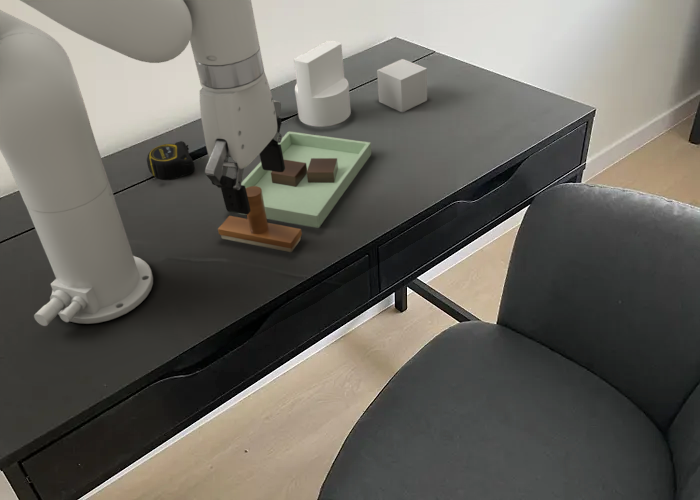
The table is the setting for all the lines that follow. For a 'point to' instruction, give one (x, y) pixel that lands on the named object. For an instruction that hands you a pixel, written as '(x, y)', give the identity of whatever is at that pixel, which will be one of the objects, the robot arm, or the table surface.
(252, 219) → the brush
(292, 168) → the dark brown square block
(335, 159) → the chip
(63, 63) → the robot arm
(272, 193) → the tray
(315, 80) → the base with upright slab
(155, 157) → the tape measure
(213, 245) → the table surface
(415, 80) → the light grey cube
